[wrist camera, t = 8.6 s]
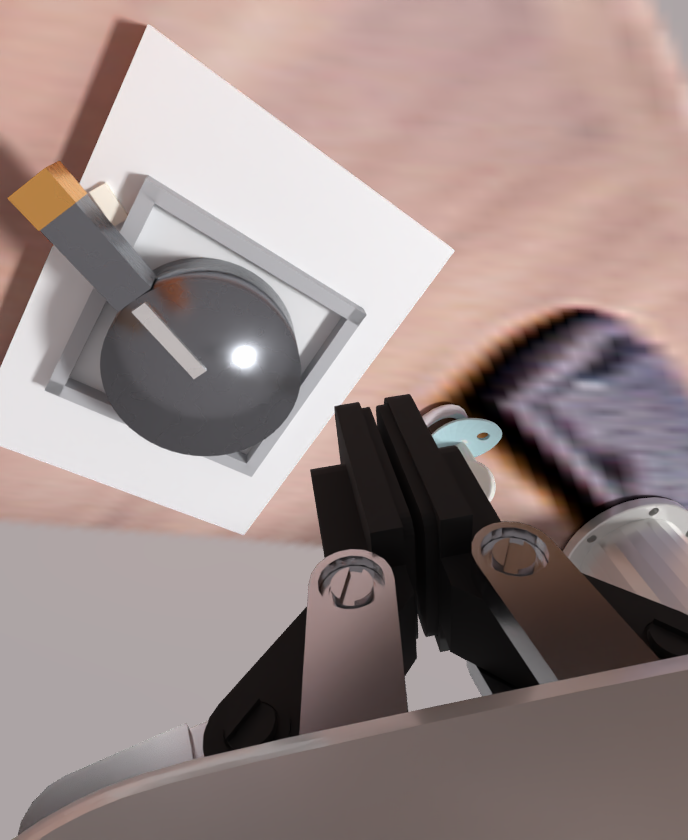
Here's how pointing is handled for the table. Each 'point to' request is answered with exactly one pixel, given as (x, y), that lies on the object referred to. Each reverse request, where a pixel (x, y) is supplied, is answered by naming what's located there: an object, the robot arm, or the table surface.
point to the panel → (219, 239)
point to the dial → (175, 331)
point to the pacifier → (466, 440)
